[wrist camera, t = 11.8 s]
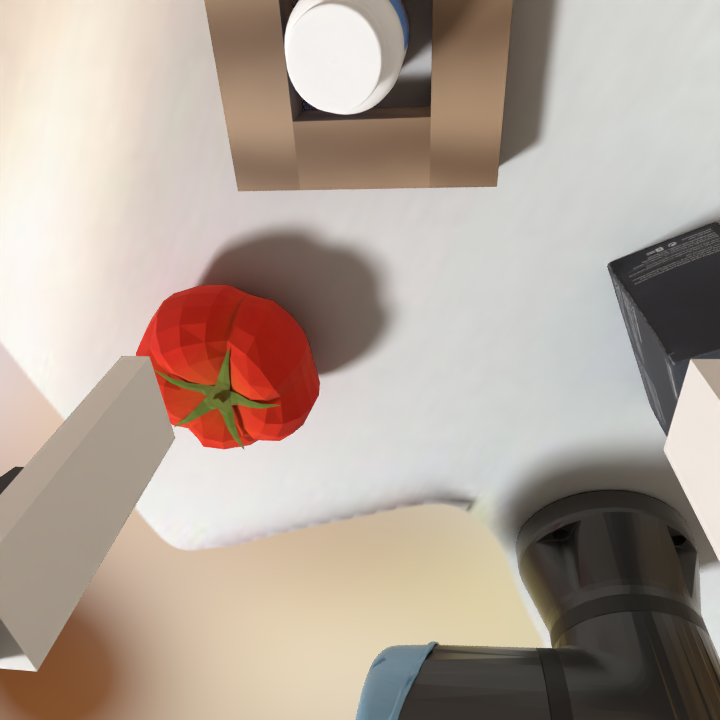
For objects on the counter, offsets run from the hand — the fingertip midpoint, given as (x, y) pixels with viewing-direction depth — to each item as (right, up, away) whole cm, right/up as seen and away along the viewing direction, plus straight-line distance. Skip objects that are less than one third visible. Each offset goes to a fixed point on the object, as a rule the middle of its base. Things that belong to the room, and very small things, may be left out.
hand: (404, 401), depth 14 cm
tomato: (-10, +3, +29) cm, 31 cm away
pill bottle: (-1, +19, +17) cm, 25 cm away
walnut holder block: (-1, +19, +16) cm, 25 cm away
